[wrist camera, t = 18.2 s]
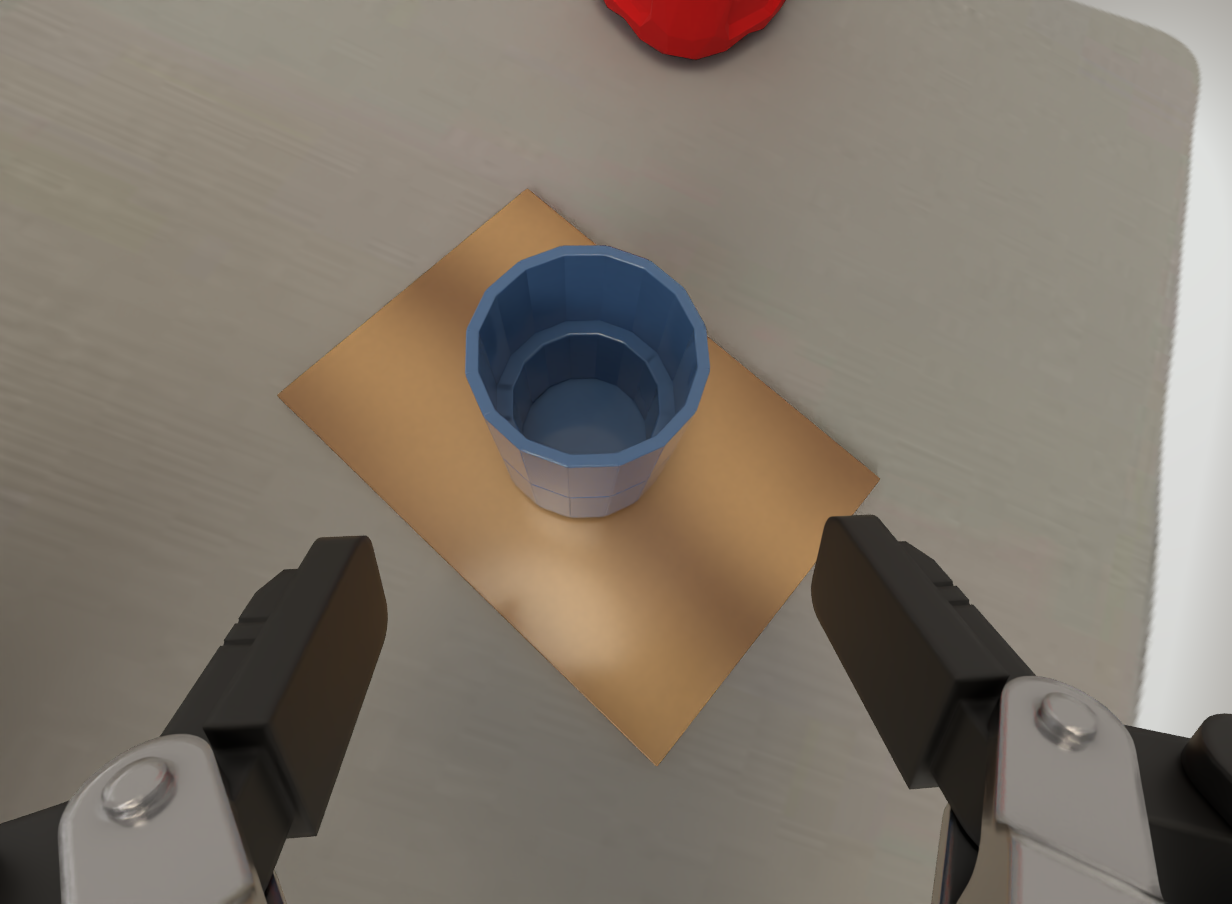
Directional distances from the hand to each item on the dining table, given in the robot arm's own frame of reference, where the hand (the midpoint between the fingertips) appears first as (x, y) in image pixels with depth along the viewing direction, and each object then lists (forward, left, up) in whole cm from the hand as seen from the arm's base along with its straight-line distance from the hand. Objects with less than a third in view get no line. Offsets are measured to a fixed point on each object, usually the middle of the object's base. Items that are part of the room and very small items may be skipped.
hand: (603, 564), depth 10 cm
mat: (+4, +4, -12) cm, 13 cm away
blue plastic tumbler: (+4, +4, -12) cm, 13 cm away
